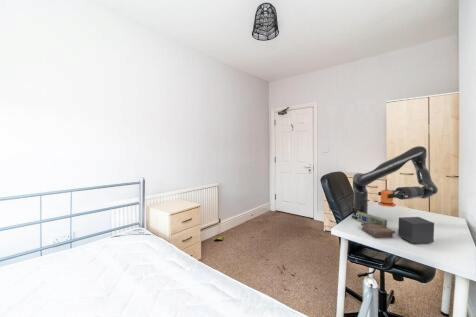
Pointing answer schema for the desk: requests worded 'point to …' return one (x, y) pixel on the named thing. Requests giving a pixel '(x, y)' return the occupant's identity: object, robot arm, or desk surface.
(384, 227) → the stand
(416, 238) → the dark grey cube pedestal
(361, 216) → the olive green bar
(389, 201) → the hat
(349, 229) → the desk surface
